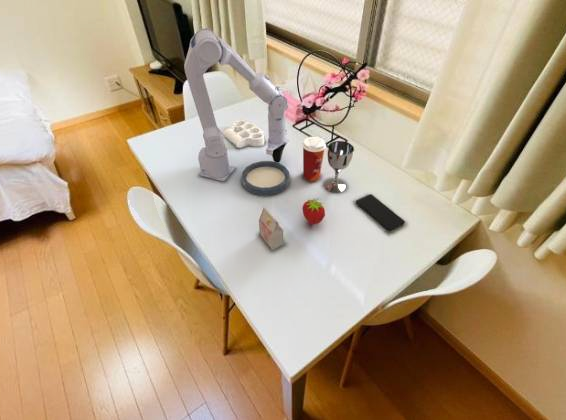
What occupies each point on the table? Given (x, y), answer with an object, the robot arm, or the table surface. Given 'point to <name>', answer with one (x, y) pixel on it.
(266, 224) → the milk carton
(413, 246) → the table surface
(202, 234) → the table surface
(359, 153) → the table surface
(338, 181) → the silver metal goblet
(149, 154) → the table surface
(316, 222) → the strawberry
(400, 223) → the smartphone
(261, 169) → the plate
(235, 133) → the white tube cluster
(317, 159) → the paper cup
